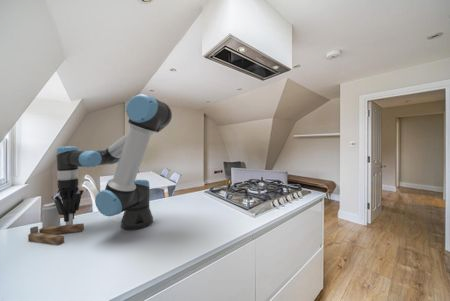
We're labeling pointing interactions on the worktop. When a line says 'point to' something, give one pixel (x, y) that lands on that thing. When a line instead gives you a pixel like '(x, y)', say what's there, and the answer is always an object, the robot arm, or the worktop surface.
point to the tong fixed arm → (44, 237)
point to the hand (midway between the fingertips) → (69, 227)
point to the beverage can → (50, 215)
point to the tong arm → (62, 229)
